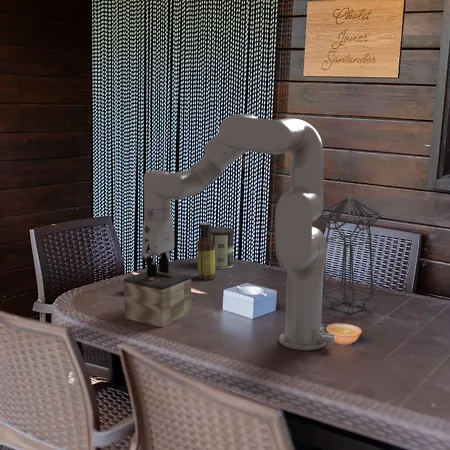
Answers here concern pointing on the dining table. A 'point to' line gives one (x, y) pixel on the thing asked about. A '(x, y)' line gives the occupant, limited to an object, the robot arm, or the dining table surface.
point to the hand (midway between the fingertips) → (157, 273)
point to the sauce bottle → (205, 253)
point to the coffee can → (223, 246)
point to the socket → (157, 298)
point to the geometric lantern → (340, 210)
